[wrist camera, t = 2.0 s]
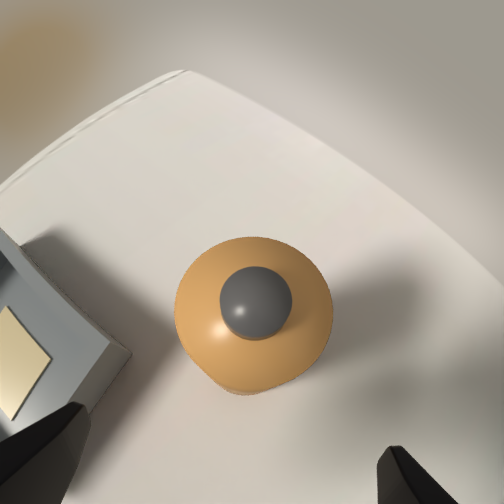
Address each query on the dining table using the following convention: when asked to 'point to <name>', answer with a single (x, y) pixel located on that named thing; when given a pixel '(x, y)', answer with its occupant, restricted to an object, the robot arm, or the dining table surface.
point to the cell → (253, 314)
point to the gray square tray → (46, 346)
